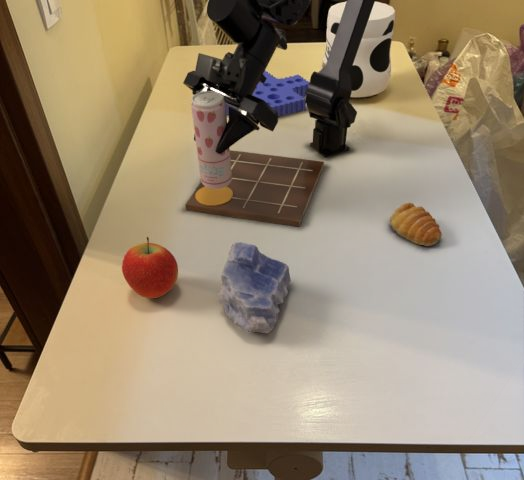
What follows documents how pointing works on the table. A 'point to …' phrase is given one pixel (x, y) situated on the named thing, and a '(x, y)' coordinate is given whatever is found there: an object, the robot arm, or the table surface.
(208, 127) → the beverage can
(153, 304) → the table surface
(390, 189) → the table surface
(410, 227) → the pastry
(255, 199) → the board
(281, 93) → the building block
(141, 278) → the apple
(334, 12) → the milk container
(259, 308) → the mineral
